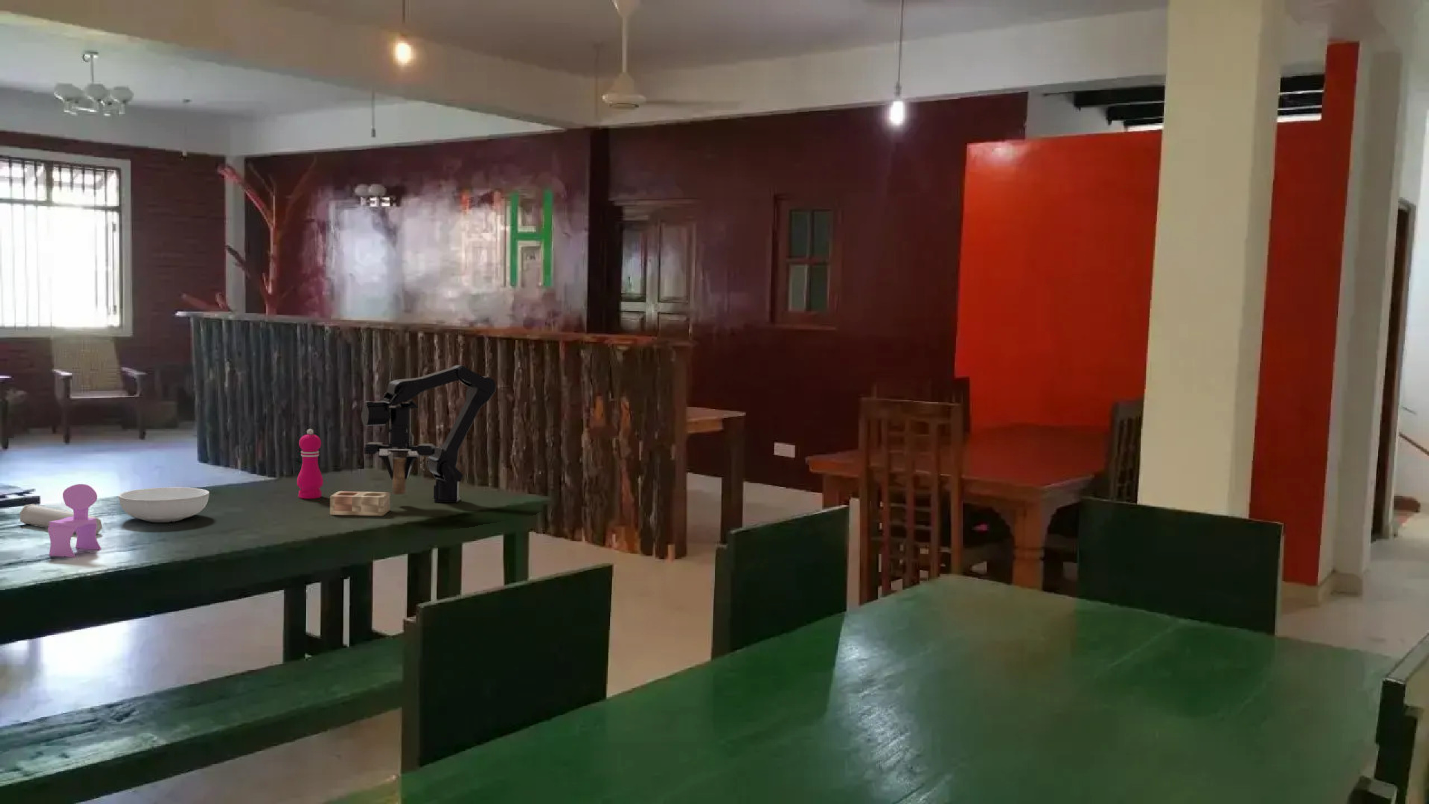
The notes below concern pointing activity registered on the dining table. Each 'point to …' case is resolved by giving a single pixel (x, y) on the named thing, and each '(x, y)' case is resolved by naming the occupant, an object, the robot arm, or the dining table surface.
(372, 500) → the bore block
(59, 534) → the toy chair
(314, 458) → the pepper mill
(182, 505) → the serving bowl
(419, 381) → the robot arm
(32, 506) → the tube
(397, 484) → the dowel
